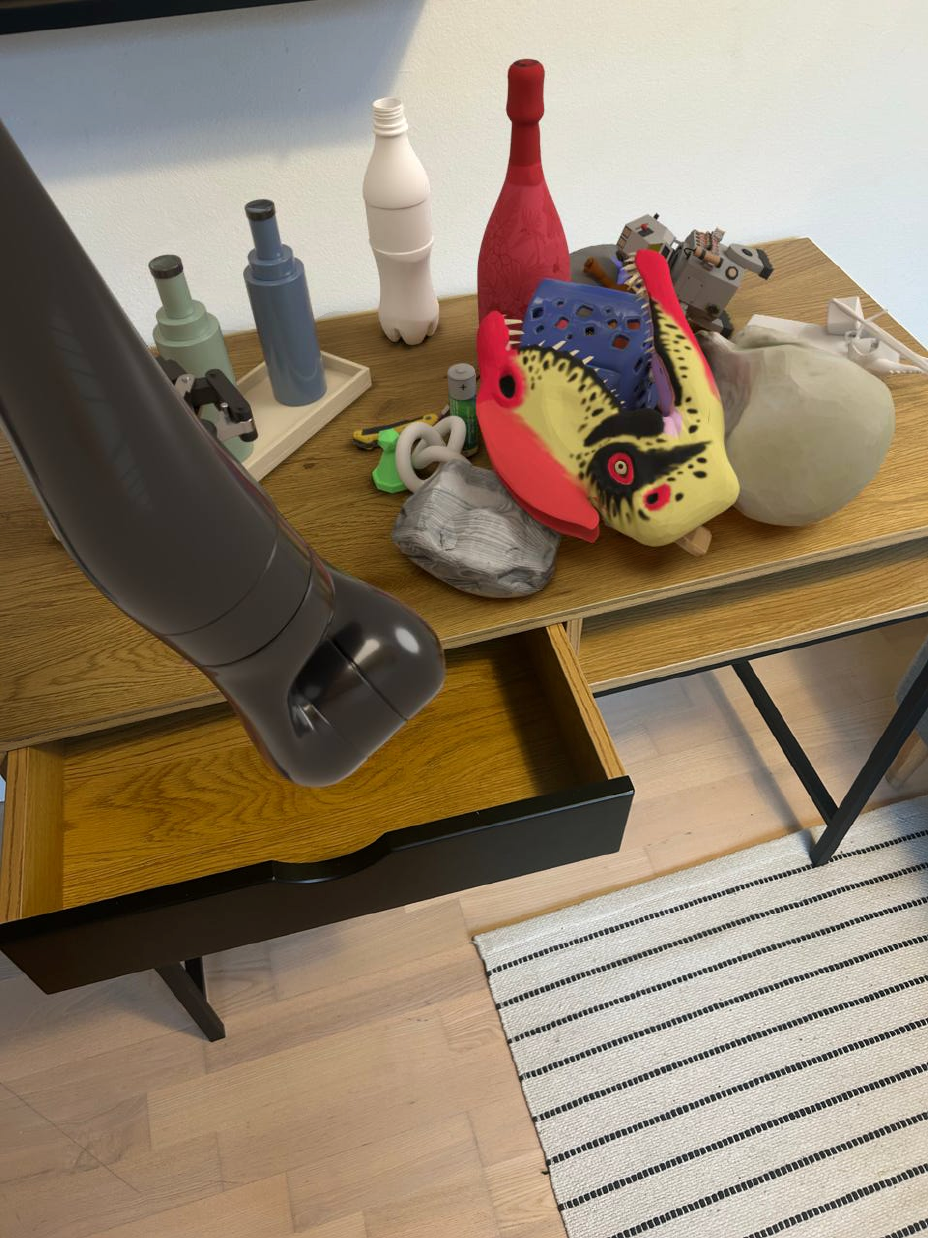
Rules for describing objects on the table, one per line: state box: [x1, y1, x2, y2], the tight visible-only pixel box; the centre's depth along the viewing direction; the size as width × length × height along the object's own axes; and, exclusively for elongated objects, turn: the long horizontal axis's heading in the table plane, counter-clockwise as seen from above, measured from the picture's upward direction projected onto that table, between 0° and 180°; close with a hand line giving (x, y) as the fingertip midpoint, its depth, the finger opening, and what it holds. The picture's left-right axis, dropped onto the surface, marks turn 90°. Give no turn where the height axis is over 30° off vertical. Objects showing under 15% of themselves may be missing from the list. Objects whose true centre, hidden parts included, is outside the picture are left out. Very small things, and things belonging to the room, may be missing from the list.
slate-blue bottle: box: [242, 198, 327, 407], centre depth 87 cm, size 6×6×20 cm
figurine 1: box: [615, 212, 775, 340], centre depth 96 cm, size 9×12×15 cm
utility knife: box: [352, 412, 450, 450], centre depth 90 cm, size 16×1×3 cm
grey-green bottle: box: [147, 254, 254, 463], centre depth 81 cm, size 6×6×20 cm
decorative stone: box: [390, 459, 563, 599], centre depth 76 cm, size 14×14×10 cm
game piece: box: [371, 428, 417, 494], centre depth 83 cm, size 4×4×6 cm
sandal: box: [598, 510, 713, 558], centre depth 77 cm, size 7×16×5 cm
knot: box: [395, 416, 474, 494], centre depth 82 cm, size 8×8×6 cm
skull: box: [648, 325, 897, 527], centre depth 76 cm, size 15×18×20 cm
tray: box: [47, 349, 373, 542], centre depth 88 cm, size 35×11×2 cm, turn 147°
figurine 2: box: [745, 295, 928, 381], centre depth 90 cm, size 12×8×25 cm
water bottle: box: [362, 97, 440, 346], centre depth 93 cm, size 7×7×25 cm
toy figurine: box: [583, 257, 638, 328], centre depth 97 cm, size 12×4×7 cm
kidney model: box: [567, 243, 641, 324], centre depth 103 cm, size 15×7×18 cm
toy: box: [475, 249, 739, 547], centre depth 73 cm, size 7×27×20 cm
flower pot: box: [519, 279, 659, 412], centre depth 84 cm, size 13×13×12 cm
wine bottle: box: [476, 58, 570, 350], centre depth 87 cm, size 10×10×30 cm
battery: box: [447, 363, 479, 458], centre depth 84 cm, size 3×3×10 cm
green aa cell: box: [433, 372, 481, 426], centre depth 89 cm, size 8×1×5 cm
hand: (102, 390), depth 61 cm, fingers open, 8 cm apart
